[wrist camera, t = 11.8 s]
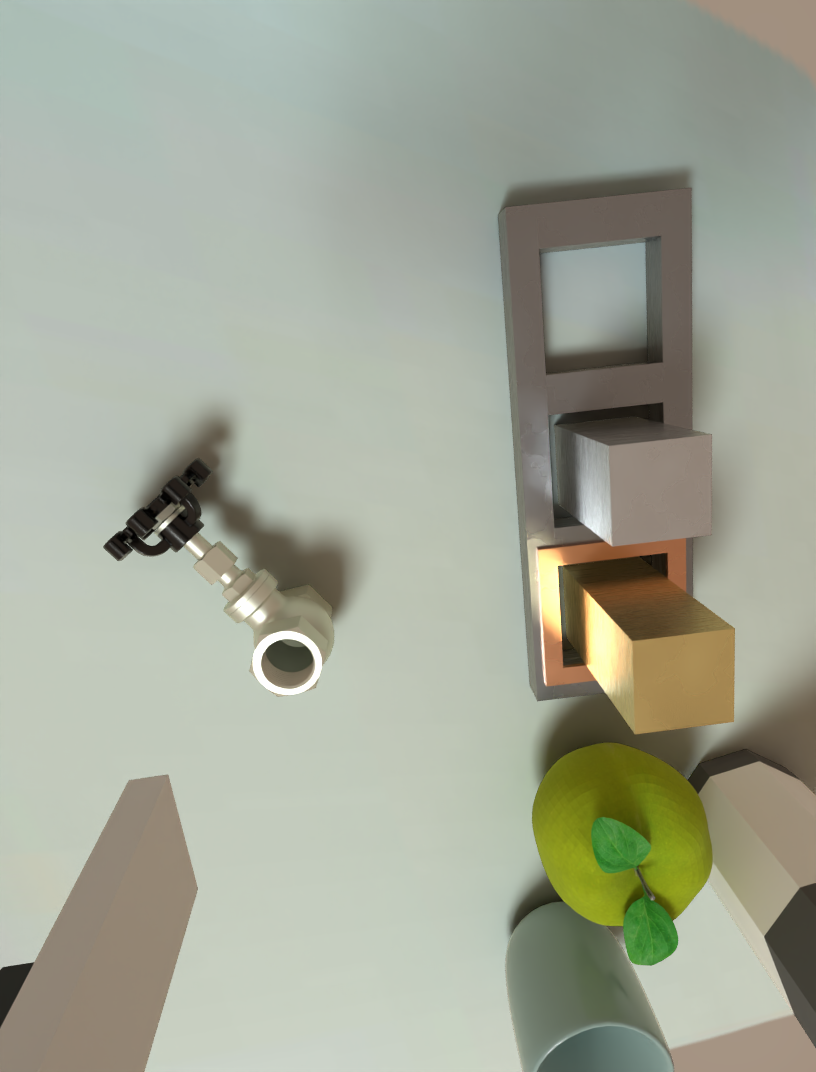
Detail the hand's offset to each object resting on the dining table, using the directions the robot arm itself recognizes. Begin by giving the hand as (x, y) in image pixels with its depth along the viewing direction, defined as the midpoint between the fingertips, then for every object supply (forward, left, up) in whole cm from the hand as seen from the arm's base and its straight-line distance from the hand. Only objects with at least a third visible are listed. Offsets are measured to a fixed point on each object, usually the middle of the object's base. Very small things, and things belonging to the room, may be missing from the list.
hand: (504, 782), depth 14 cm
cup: (+29, +6, -26) cm, 40 cm away
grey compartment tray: (-2, +10, -26) cm, 28 cm away
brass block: (+6, +10, -26) cm, 28 cm away
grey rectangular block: (-2, +10, -26) cm, 28 cm away
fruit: (+18, +9, -26) cm, 33 cm away
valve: (+2, -10, -26) cm, 28 cm away
